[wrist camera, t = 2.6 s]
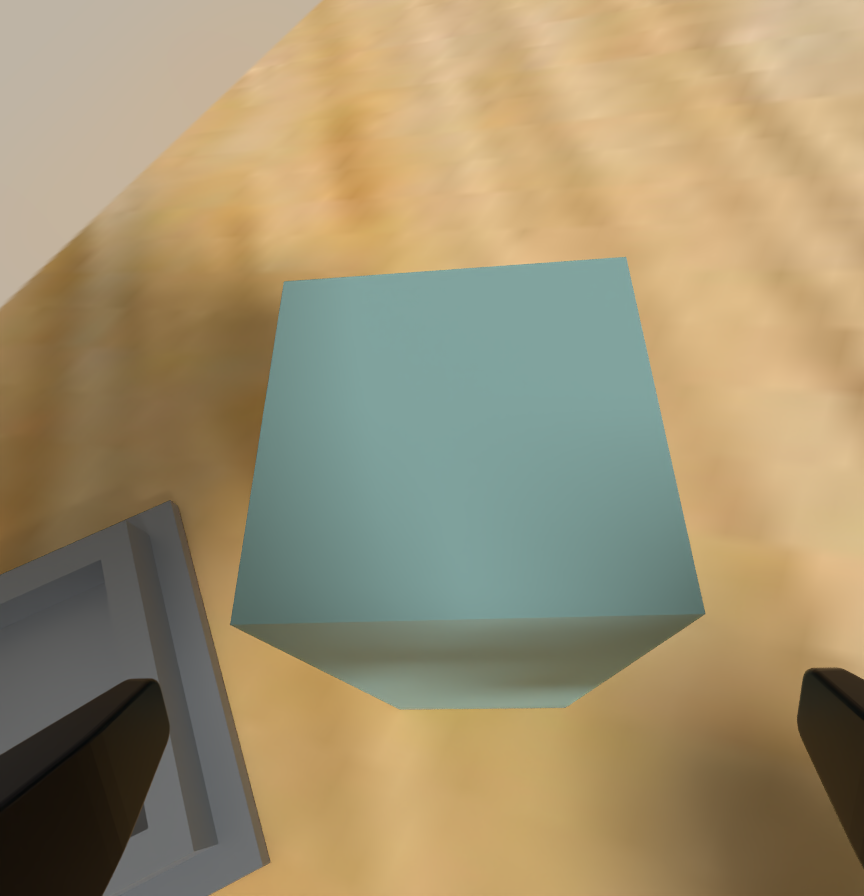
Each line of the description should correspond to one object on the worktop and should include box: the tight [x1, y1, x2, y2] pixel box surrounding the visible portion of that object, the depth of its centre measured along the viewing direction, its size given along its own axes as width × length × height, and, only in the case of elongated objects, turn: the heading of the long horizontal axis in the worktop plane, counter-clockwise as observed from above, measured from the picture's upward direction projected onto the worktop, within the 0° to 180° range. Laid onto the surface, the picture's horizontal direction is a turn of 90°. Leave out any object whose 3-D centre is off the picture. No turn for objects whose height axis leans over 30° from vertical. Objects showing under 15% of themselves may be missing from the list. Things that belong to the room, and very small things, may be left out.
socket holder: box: [0, 500, 270, 896], centre depth 17 cm, size 12×12×2 cm
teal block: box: [230, 257, 705, 709], centre depth 13 cm, size 5×5×13 cm
